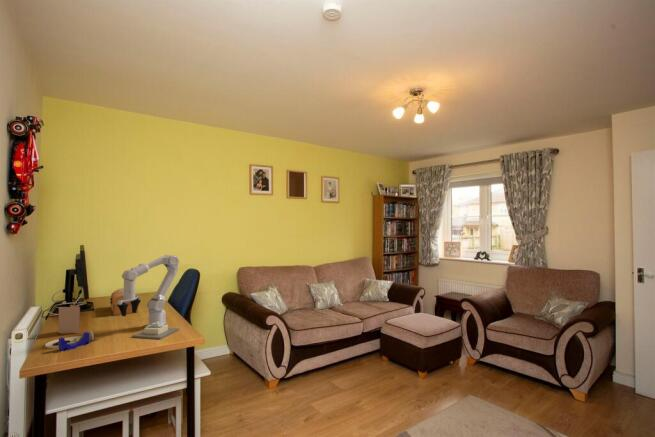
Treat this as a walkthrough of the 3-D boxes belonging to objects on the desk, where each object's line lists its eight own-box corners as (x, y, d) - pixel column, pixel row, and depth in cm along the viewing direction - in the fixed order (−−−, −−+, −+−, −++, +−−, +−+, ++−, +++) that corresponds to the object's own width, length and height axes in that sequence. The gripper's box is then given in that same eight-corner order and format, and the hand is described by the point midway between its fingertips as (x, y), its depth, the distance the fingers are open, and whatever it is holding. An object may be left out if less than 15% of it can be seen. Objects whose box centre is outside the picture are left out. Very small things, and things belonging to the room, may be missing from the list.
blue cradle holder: (61, 352, 162) (61, 339, 162) (58, 350, 164) (58, 338, 165) (90, 344, 171) (90, 333, 172) (87, 343, 174) (87, 331, 174)
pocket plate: (152, 328, 198) (152, 321, 198) (179, 330, 194) (179, 323, 194) (131, 337, 182) (131, 330, 182) (160, 339, 179) (160, 331, 179)
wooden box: (109, 307, 249) (109, 289, 250) (134, 304, 259) (134, 286, 259) (110, 316, 225) (110, 296, 225) (138, 312, 234) (138, 293, 234)
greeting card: (81, 332, 191) (81, 306, 191) (65, 336, 184) (66, 309, 185) (72, 329, 197) (72, 304, 197) (56, 332, 190) (57, 306, 190)
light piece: (93, 335, 177) (44, 344, 164) (94, 341, 177) (44, 351, 164) (92, 330, 186) (45, 338, 173) (92, 335, 186) (45, 344, 173)
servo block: (149, 330, 190) (149, 321, 190) (165, 331, 190) (165, 321, 190) (146, 332, 187) (146, 322, 187) (162, 332, 187) (162, 322, 187)
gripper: (133, 288, 199) (132, 310, 199) (113, 292, 185) (112, 317, 184) (143, 288, 198) (143, 311, 197) (123, 293, 183) (123, 318, 183)
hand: (129, 314), depth 191 cm, fingers open, 7 cm apart
